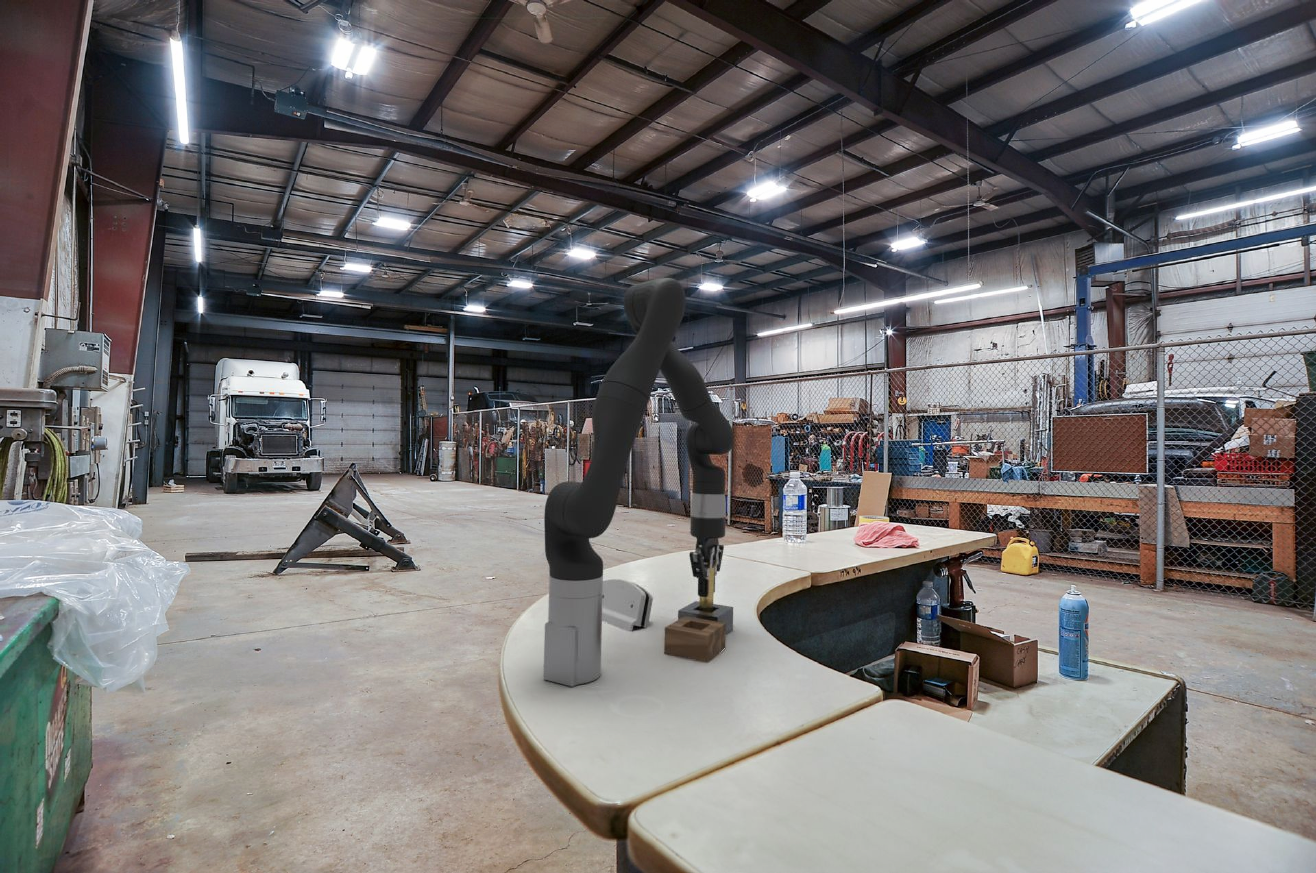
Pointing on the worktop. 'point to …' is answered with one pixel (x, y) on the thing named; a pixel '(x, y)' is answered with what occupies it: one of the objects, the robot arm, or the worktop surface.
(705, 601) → the pin
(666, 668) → the worktop surface
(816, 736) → the worktop surface
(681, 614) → the socket block
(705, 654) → the mount
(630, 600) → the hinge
